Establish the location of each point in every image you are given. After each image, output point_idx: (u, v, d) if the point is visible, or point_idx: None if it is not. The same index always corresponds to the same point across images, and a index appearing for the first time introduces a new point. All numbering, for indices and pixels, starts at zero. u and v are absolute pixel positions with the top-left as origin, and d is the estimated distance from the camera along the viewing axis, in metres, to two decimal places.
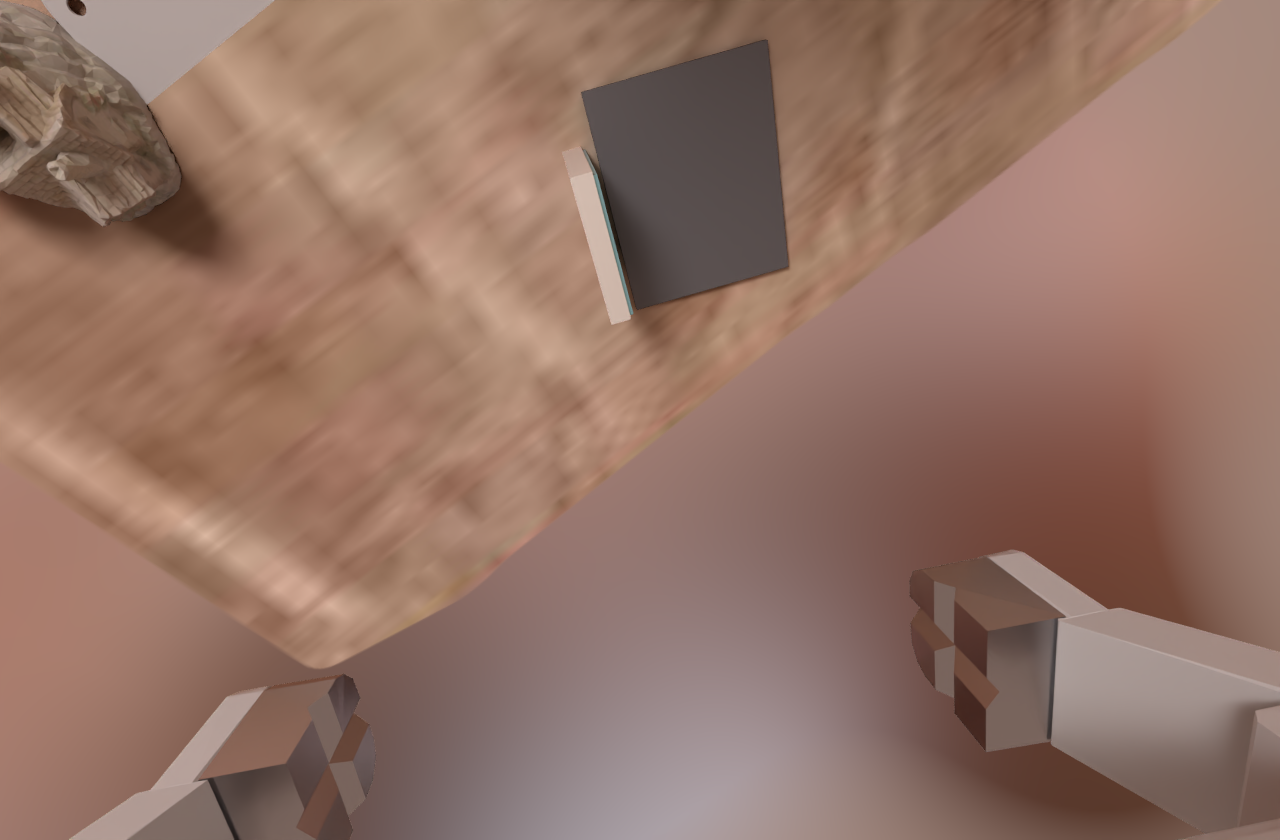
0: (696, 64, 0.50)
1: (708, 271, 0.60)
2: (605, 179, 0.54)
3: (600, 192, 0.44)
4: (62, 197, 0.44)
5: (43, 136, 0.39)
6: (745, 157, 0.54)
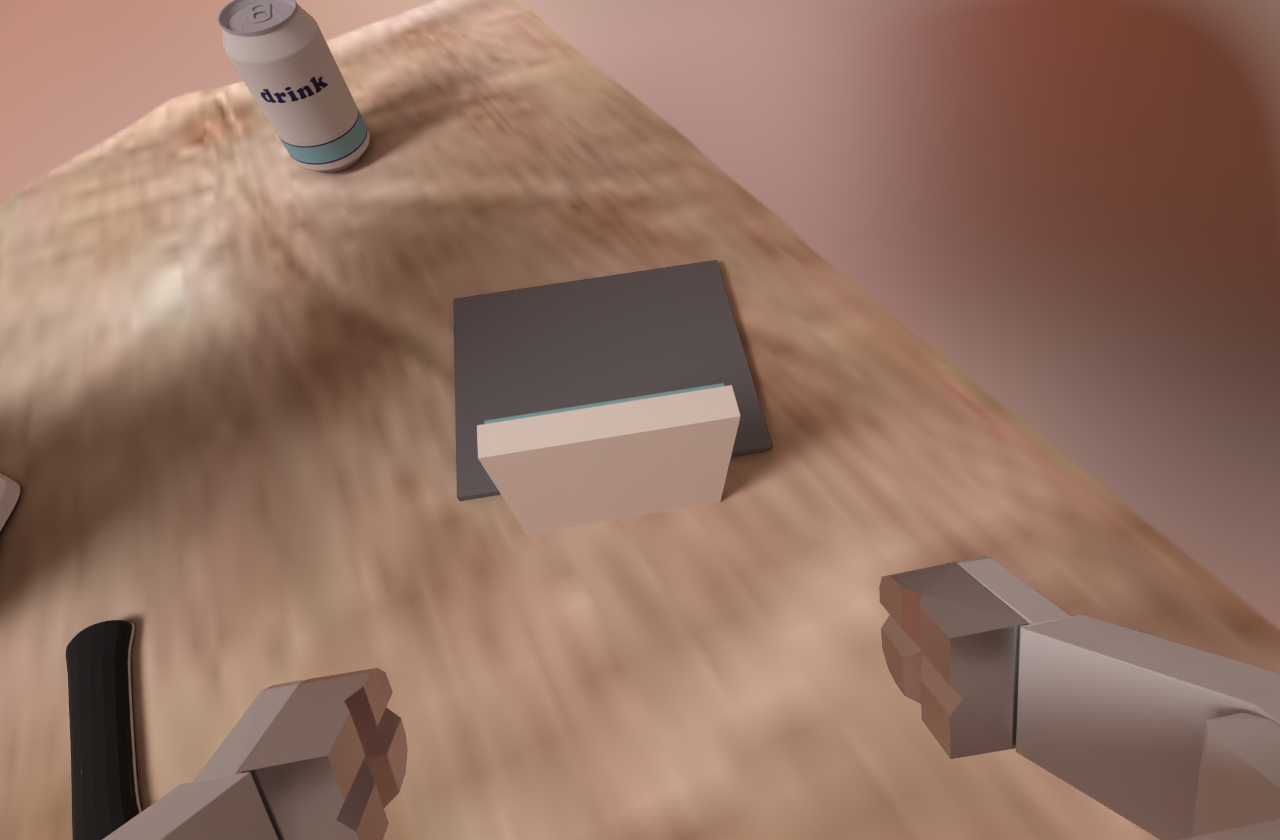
0: (459, 366, 0.42)
1: (716, 350, 0.42)
2: None
3: (512, 418, 0.28)
4: None
5: None
6: (572, 313, 0.44)
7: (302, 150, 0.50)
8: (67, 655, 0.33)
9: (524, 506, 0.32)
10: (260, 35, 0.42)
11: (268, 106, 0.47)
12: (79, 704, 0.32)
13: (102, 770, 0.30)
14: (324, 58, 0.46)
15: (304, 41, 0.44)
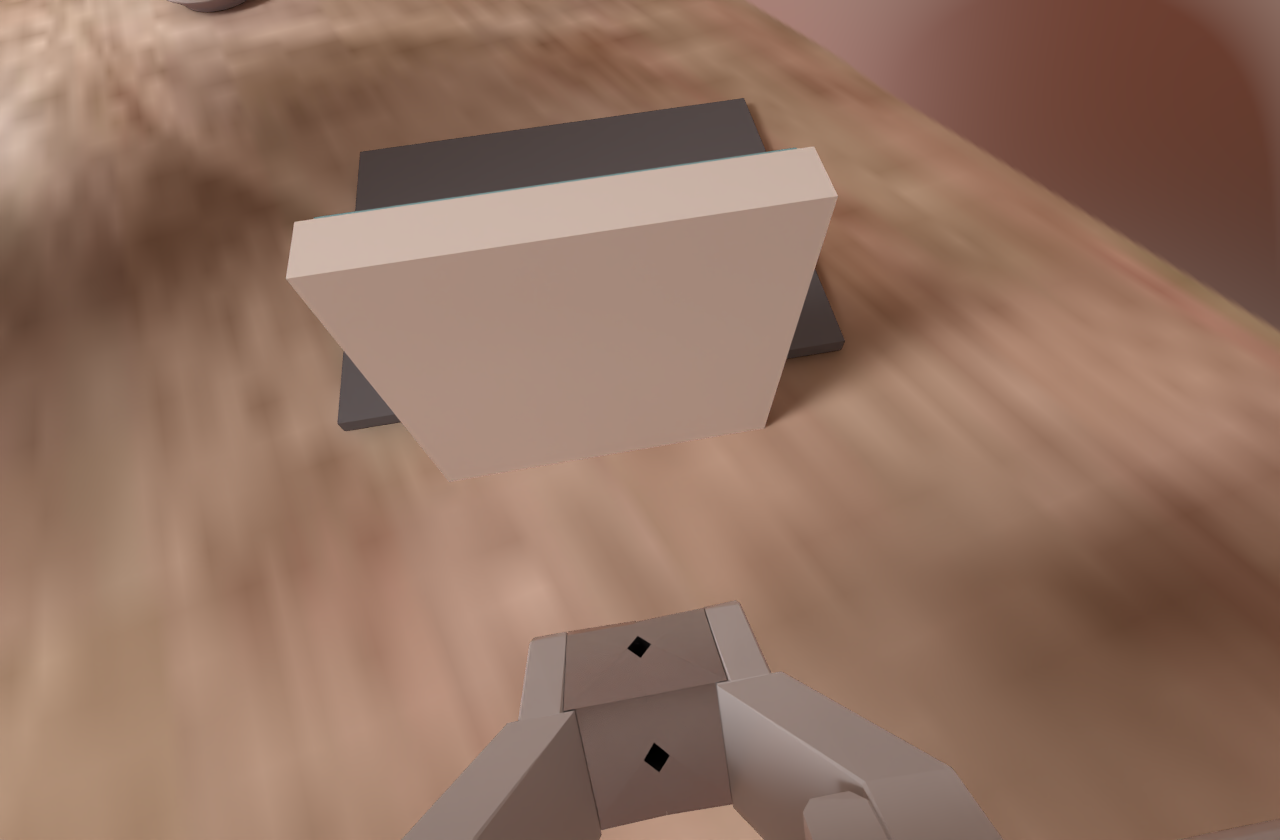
0: None
1: None
2: None
3: None
4: None
5: None
6: (532, 166, 0.29)
7: None
8: None
9: (429, 419, 0.18)
10: None
11: None
12: None
13: None
14: None
15: None
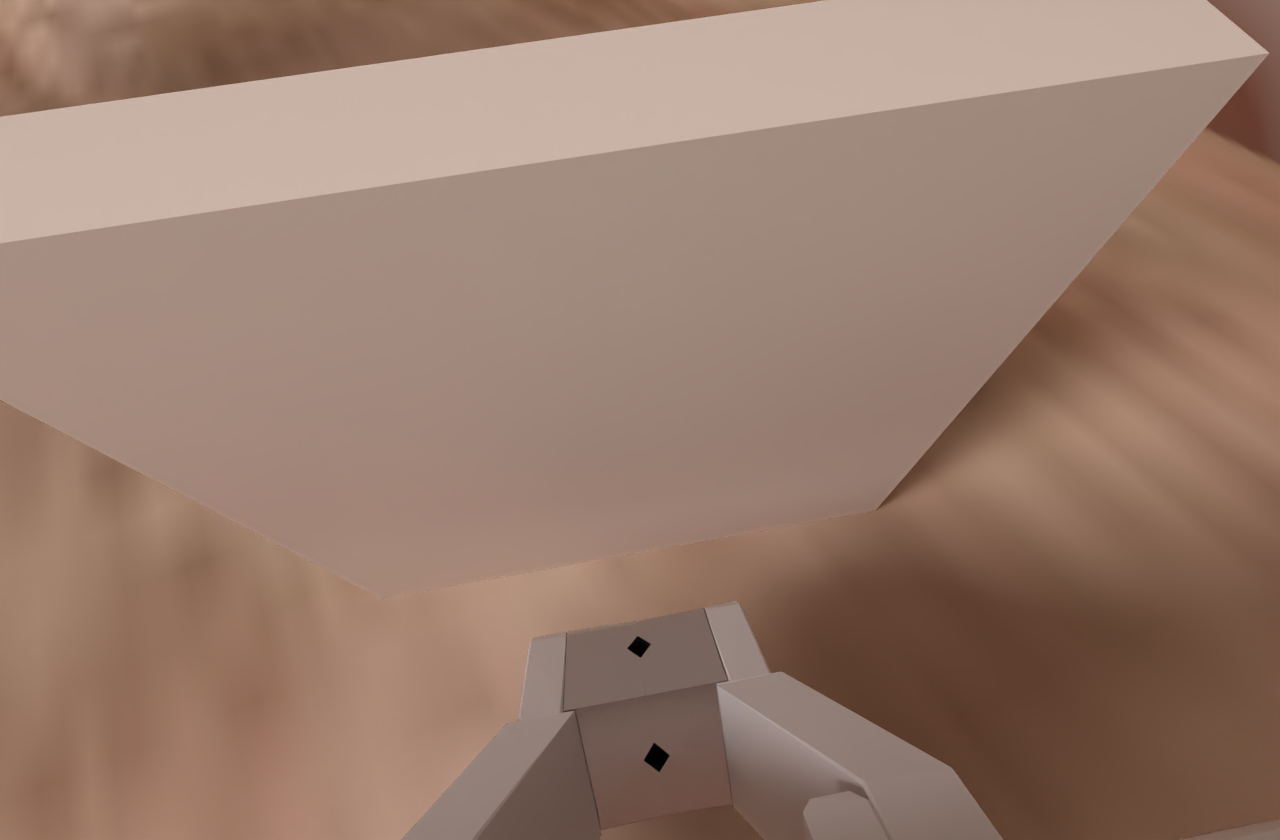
0: None
1: None
2: None
3: None
4: None
5: None
6: None
7: None
8: None
9: (317, 531, 0.10)
10: None
11: None
12: None
13: None
14: None
15: None
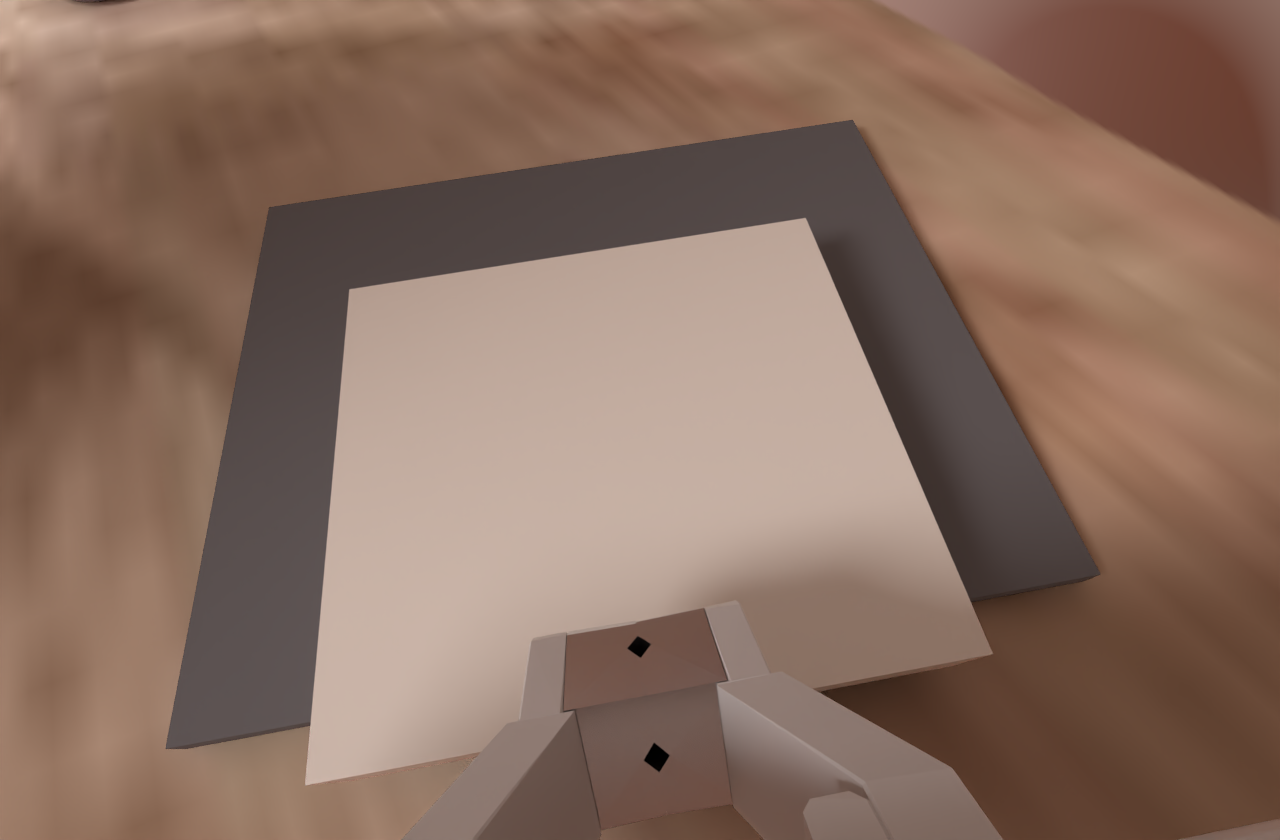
0: (251, 356, 0.17)
1: (886, 309, 0.17)
2: None
3: None
4: None
5: None
6: (532, 231, 0.19)
7: None
8: None
9: (368, 520, 0.12)
10: None
11: None
12: None
13: None
14: None
15: None
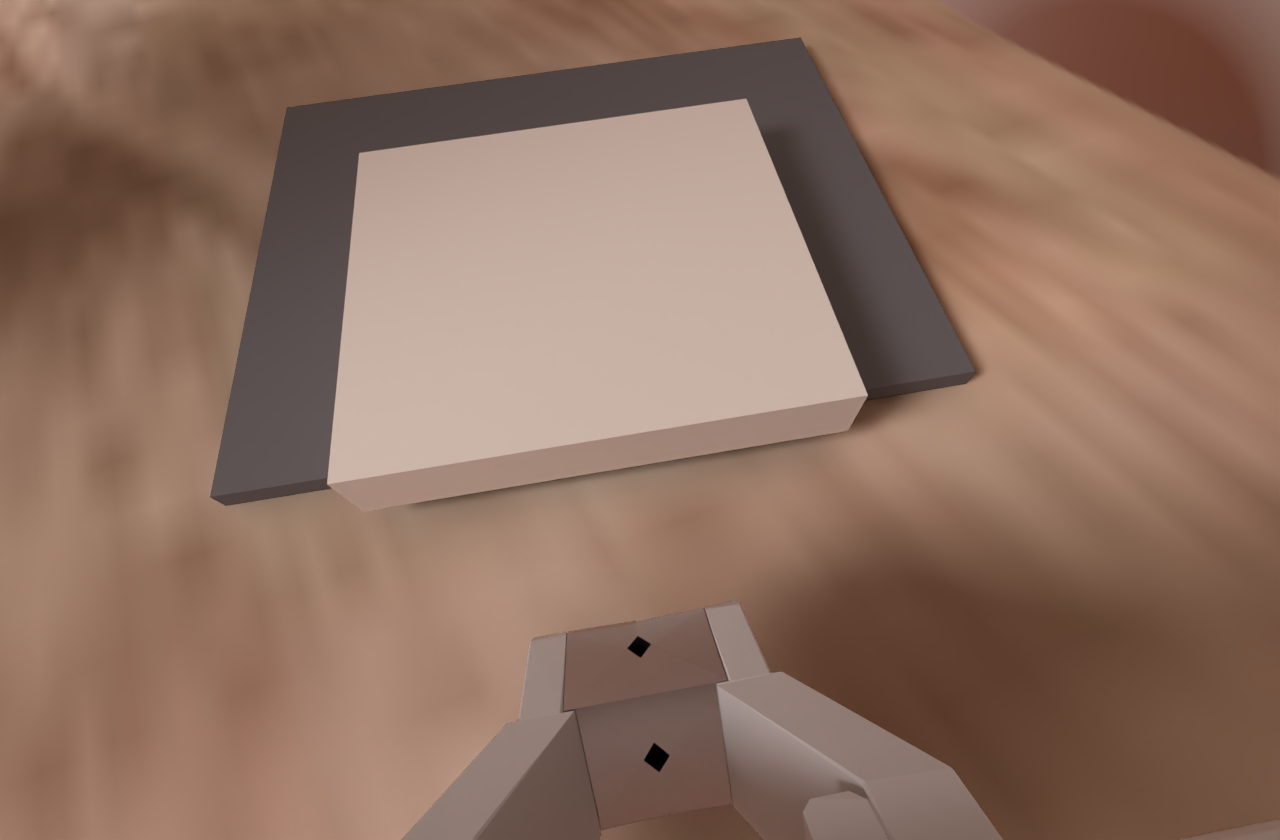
0: (274, 220, 0.20)
1: (817, 182, 0.20)
2: None
3: None
4: None
5: None
6: (516, 125, 0.22)
7: None
8: None
9: (375, 313, 0.15)
10: None
11: None
12: None
13: None
14: None
15: None
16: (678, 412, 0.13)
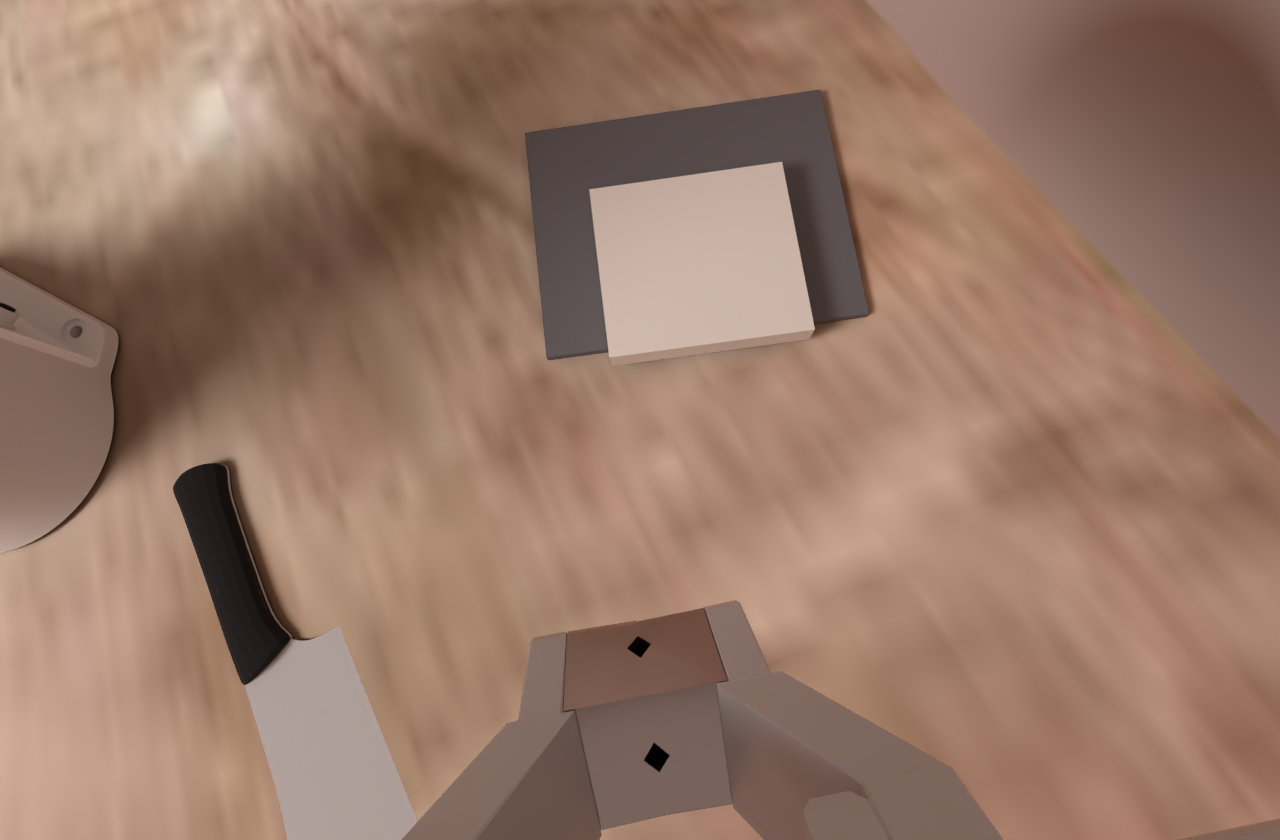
0: (537, 214, 0.39)
1: (814, 202, 0.38)
2: None
3: None
4: None
5: None
6: (656, 153, 0.40)
7: None
8: (176, 494, 0.36)
9: (614, 283, 0.36)
10: None
11: None
12: (199, 535, 0.35)
13: (235, 587, 0.35)
14: None
15: None
16: (740, 333, 0.35)
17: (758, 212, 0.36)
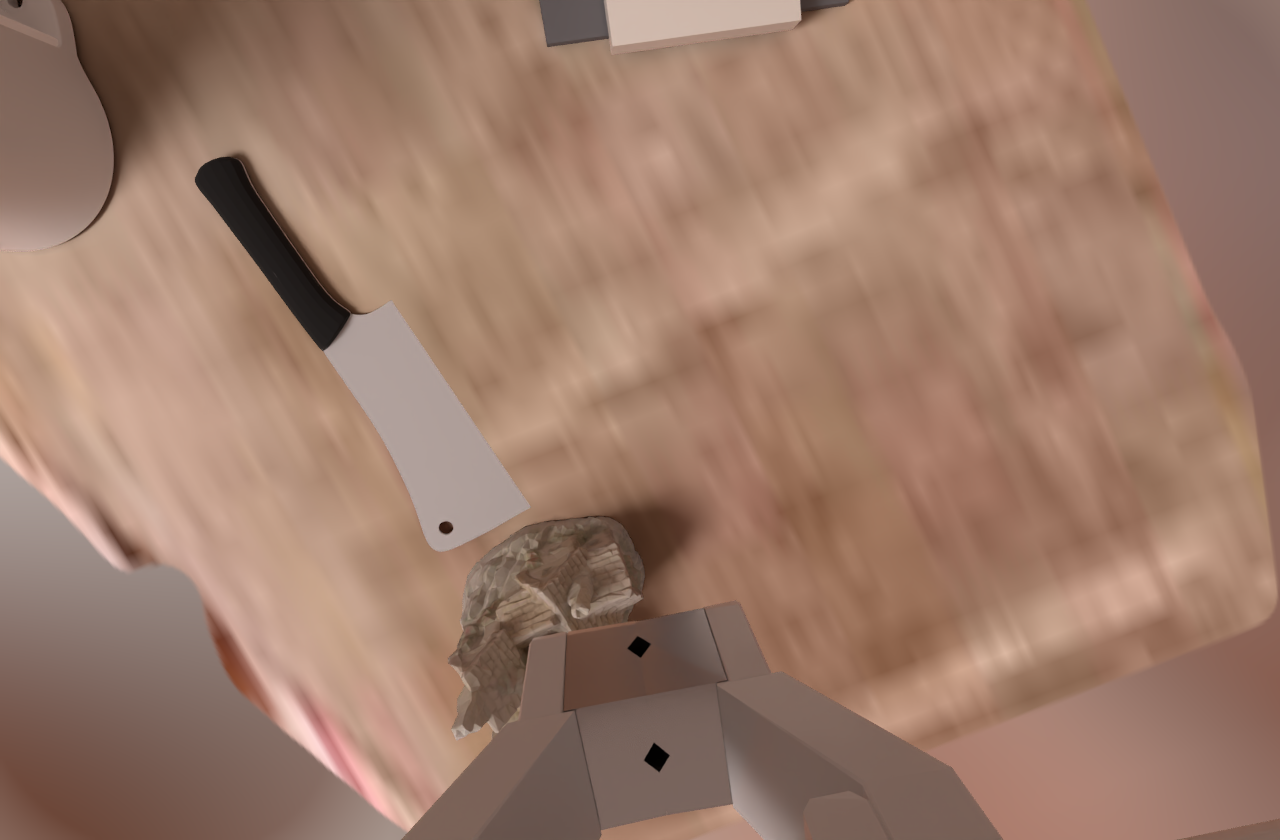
0: None
1: None
2: None
3: None
4: (612, 618, 0.45)
5: (551, 609, 0.41)
6: None
7: None
8: (201, 189, 0.39)
9: None
10: None
11: None
12: (240, 227, 0.39)
13: (290, 272, 0.40)
14: None
15: None
16: (734, 22, 0.37)
17: None
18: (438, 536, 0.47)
